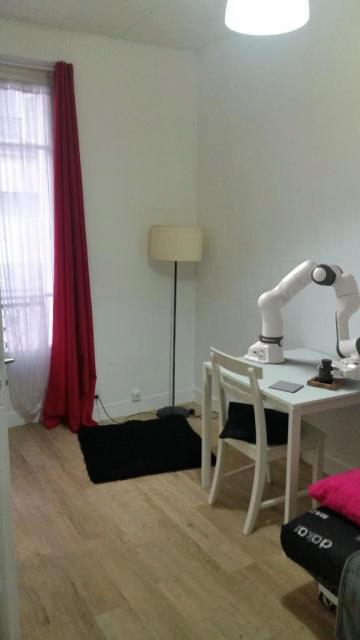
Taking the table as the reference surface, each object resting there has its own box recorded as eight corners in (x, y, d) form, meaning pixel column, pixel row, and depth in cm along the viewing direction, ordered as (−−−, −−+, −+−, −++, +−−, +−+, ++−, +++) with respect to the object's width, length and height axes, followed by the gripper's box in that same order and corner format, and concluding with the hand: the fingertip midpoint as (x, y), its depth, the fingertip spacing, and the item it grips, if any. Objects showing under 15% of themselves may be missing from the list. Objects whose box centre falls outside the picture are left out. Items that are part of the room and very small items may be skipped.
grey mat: (268, 387, 248) (268, 386, 247) (280, 381, 257) (280, 380, 257) (292, 393, 241) (292, 391, 240) (303, 386, 250) (303, 385, 250)
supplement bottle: (334, 386, 250) (336, 361, 248) (320, 386, 249) (322, 362, 247) (329, 381, 257) (331, 357, 254) (315, 382, 256) (317, 358, 254)
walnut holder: (306, 385, 252) (307, 381, 251) (317, 378, 262) (317, 374, 262) (333, 390, 244) (333, 386, 244) (343, 383, 254) (343, 379, 254)
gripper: (334, 355, 266) (311, 358, 260) (363, 366, 247) (339, 369, 242) (333, 367, 267) (310, 370, 261) (362, 379, 248) (338, 382, 243)
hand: (324, 370), depth 251 cm, fingers open, 8 cm apart
